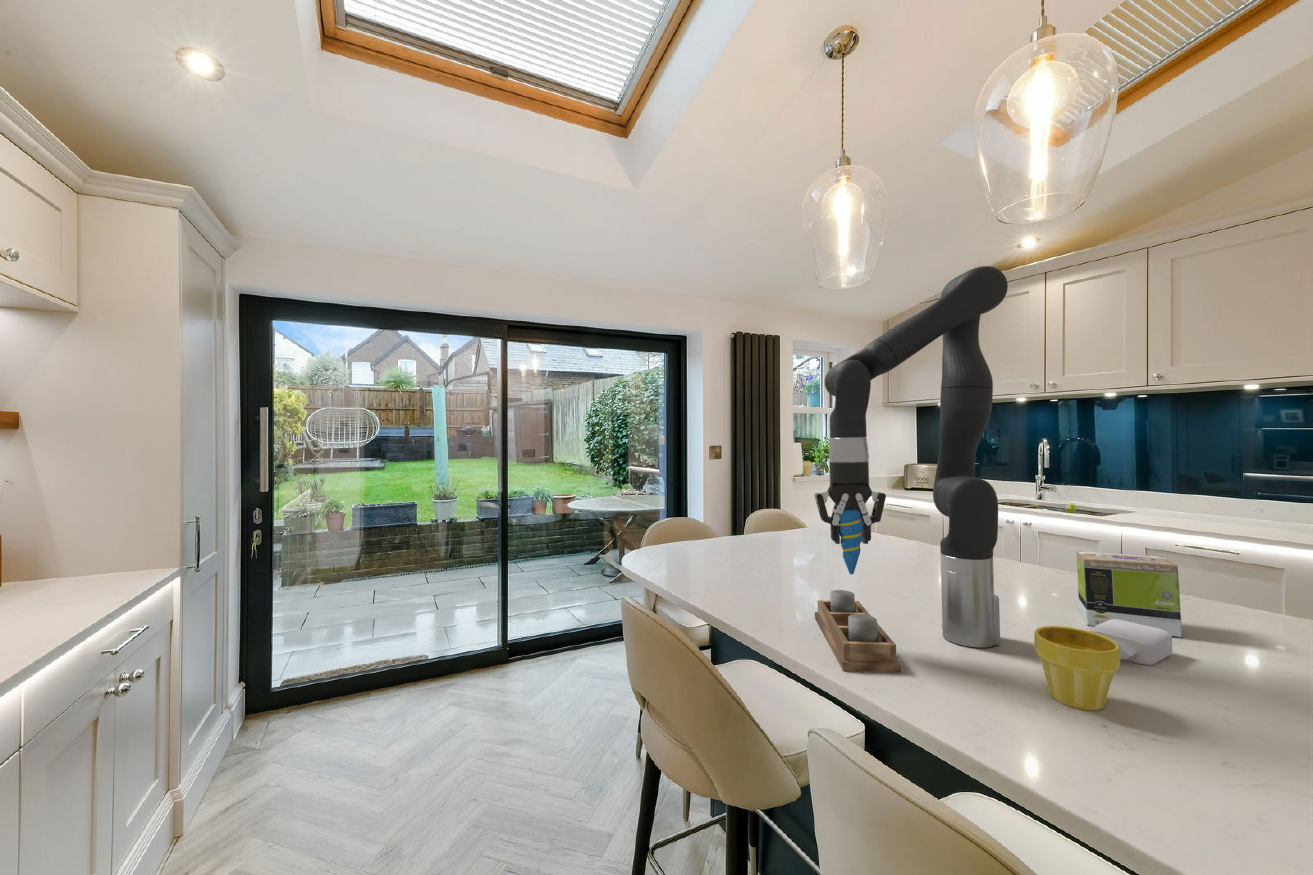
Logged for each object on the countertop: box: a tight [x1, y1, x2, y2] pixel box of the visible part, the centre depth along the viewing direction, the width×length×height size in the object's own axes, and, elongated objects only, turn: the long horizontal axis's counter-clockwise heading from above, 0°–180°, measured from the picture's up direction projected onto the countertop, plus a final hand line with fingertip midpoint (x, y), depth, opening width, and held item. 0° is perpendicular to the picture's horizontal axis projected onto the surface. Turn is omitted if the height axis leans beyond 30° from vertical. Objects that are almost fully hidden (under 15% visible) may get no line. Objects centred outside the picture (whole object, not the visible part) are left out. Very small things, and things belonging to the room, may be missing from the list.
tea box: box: [1076, 550, 1183, 638], centre depth 110 cm, size 15×10×15 cm, turn 58°
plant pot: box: [1033, 625, 1121, 711], centre depth 80 cm, size 10×10×10 cm
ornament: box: [838, 509, 864, 575], centre depth 104 cm, size 5×5×15 cm
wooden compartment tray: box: [814, 589, 903, 674], centre depth 104 cm, size 10×27×8 cm, turn 173°
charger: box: [1088, 619, 1173, 667], centre depth 95 cm, size 5×9×15 cm
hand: (850, 542), depth 104 cm, fingers closed on ornament, 5 cm apart
